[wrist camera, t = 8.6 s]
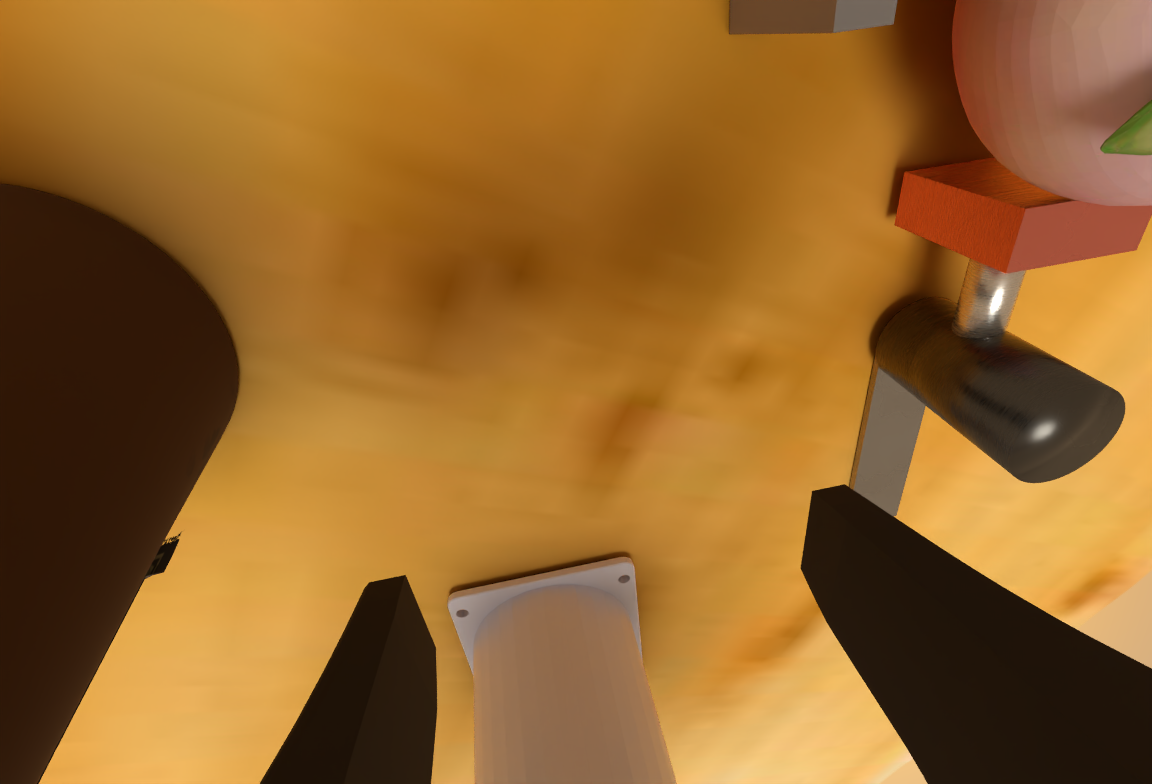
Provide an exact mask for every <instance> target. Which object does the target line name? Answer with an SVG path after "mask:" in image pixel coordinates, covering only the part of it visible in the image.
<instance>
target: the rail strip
mask: <svg viewBox="0 0 1152 784" xmlns="http://www.w3.org/2000/svg"><path fill="white" fill-rule="evenodd" d="M925 406H926V405H924V404H923V403H922V402H921V401H919V400H918V399H917V398H916V397H914V396H913V395H912V394H911V393H909V392H908V391H907V390H906V389H904V388H903V387H902V386H901V385H899V384H898V383H897V382H896V381H894V380H893V379H892V378H891V377H889V376H888V375H887V374H886V373H884V372H883V371H882V370H881V369H880V367H879V365H878V363H877V360H876V354H875V359H874V364H873V369H872V374H871V379H870V384H869V389H868V394H867V399H866V405H865V410H864V415H863V420H862V425H861V430H860V435H859V440H858V445H857V450H856V455H855V460H854V466H853V471H852V476H851V481H850V486H849V487H850V488H851V489H853V490H854V491H856V492H857V493H859V494H860V495H862V496H863V497H865V498H866V499H868V500H869V501H871V502H872V503H874V504H875V505H877V506H878V507H880V508H881V509H883V510H884V511H886V512H887V513H889V514H890V515H892V516H896V515H897V511H898V508H899V504H900V500H901V496H902V493H903V489H904V485H905V481H906V478H907V474H908V470H909V466H910V463H911V459H912V455H913V451H914V448H915V444H916V440H917V436H918V432H919V429H920V425H921V421H922V417H923V414H924V410H925Z"/></svg>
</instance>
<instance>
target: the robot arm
mask: <svg viewBox="0 0 1152 784" xmlns="http://www.w3.org/2000/svg"><path fill="white" fill-rule="evenodd" d="M801 570H802V572H803V574H804V576H805V579H806V581H807V583H808V585H809V587H810V589H811V591H812V594H813V596H814V598H815V600H816V602H817V604H818V606H819V608H820V610H821V612H822V614H823V616H824V618H825V620H826V622H827V623H828V625H829V627H830V628H831V630H832V631H833V633H834V635H835V636H836V638H837V639H838V641H839V643H840V644H841V646H842V647H843V649H844V651H845V652H846V654H847V655H848V657H849V658H850V660H851V662H852V663H853V665H854V666H855V668H856V669H857V671H858V673H859V674H860V676H861V677H862V679H863V680H864V682H865V683H866V685H867V687H868V688H869V690H870V691H871V693H872V694H873V696H874V697H875V699H876V701H877V702H878V704H879V705H880V707H881V708H882V710H883V711H884V713H885V715H886V716H887V718H888V719H889V721H890V722H891V724H892V725H893V727H894V729H895V730H896V732H897V733H898V735H899V736H900V738H901V739H902V741H903V743H904V744H905V746H906V747H907V749H908V751H909V752H910V754H911V756H912V757H913V759H914V761H915V762H916V764H917V766H918V768H919V769H920V771H921V772H922V774H923V775H924V778H925V780H926V782H927V783H928V784H1152V669H1151V668H1149V667H1147V666H1145V665H1144V664H1142V663H1140V662H1138V661H1136V660H1134V659H1132V658H1130V657H1128V656H1126V655H1124V654H1122V653H1120V652H1118V651H1116V650H1115V649H1113V648H1110V647H1109V646H1107V645H1105V644H1103V643H1101V642H1099V641H1097V640H1095V639H1093V638H1091V637H1089V636H1088V635H1086V634H1084V633H1082V632H1080V631H1079V630H1077V629H1075V628H1073V627H1071V626H1069V625H1068V624H1066V623H1064V622H1062V621H1060V620H1059V619H1057V618H1055V617H1053V616H1052V615H1050V614H1048V613H1046V612H1045V611H1043V610H1041V609H1040V608H1038V607H1036V606H1034V605H1033V604H1031V603H1029V602H1028V601H1026V600H1024V599H1022V598H1021V597H1019V596H1017V595H1015V594H1014V593H1012V592H1010V591H1009V590H1007V589H1005V588H1004V587H1002V586H1000V585H999V584H997V583H996V582H994V581H992V580H991V579H989V578H987V577H986V576H984V575H982V574H981V573H979V572H978V571H976V570H974V569H973V568H971V567H970V566H968V565H966V564H965V563H963V562H962V561H960V560H959V559H957V558H956V557H954V556H952V555H951V554H949V553H948V552H946V551H945V550H943V549H942V548H940V547H938V546H937V545H935V544H934V543H932V542H931V541H929V540H928V539H926V538H925V537H923V536H922V535H920V534H919V533H917V532H916V531H914V530H913V529H911V528H910V527H908V526H907V525H905V524H904V523H902V522H901V521H899V520H898V519H896V518H895V517H893V516H892V515H890V514H889V513H887V512H886V511H884V510H883V509H881V508H880V507H878V506H877V505H875V504H874V503H872V502H871V501H869V500H868V499H866V498H865V497H863V496H862V495H860V494H859V493H857V492H856V491H854V490H853V489H851V488H850V487H848V486H846V485H845V484H844V485H840V486H835V487H830V488H825V489H820V490H815V491H812V496H811V503H810V510H809V516H808V523H807V530H806V536H805V543H804V550H803V556H802V563H801ZM622 575H623V576H622ZM448 609H449V612H450V615H451V617H452V620H453V623H454V625H455V628H456V631H457V633H458V636H459V639H460V642H461V644H462V647H463V650H464V652H465V655H466V658H467V660H468V663H469V666H470V668H471V671H472V674H473V676H474V756H475V784H677V783H676V779H675V776H674V772H673V768H672V765H671V761H670V758H669V754H668V751H667V747H666V744H665V740H664V737H663V733H662V730H661V726H660V722H659V719H658V715H657V712H656V708H655V705H654V701H653V698H652V694H651V691H650V687H649V684H648V680H647V676H646V673H645V669H644V666H643V659H642V648H641V636H640V625H639V613H638V602H637V590H636V579H635V568H634V565H633V562H632V560H631V559H630V558H628V557H618V558H614V559H609V560H604V561H599V562H595V563H590V564H585V565H580V566H576V567H571V568H566V569H561V570H556V571H552V572H547V573H542V574H537V575H533V576H528V577H523V578H518V579H514V580H509V581H504V582H499V583H495V584H490V585H485V586H480V587H475V588H471V589H466V590H461V591H457V592H454V593H452V594H451V595H450V596H449V597H448ZM462 609H464V610H462ZM436 717H437V674H436V647H435V645H434V642H433V640H432V637H431V635H430V633H429V630H428V628H427V625H426V623H425V621H424V618H423V616H422V613H421V611H420V609H419V606H418V604H417V601H416V599H415V597H414V594H413V592H412V589H411V587H410V585H409V582H408V580H407V577H406V575H403V576H399V577H394V578H389V579H384V580H379V581H374V582H369V583H368V585H367V586H366V587H365V588H364V590H363V593H362V595H361V597H360V599H359V601H358V603H357V605H356V607H355V609H354V611H353V613H352V616H351V618H350V620H349V622H348V624H347V626H346V628H345V630H344V632H343V634H342V636H341V638H340V640H339V642H338V644H337V646H336V648H335V650H334V652H333V654H332V656H331V658H330V660H329V662H328V664H327V665H326V667H325V669H324V671H323V673H322V675H321V677H320V679H319V681H318V682H317V684H316V686H315V688H314V690H313V692H312V693H311V695H310V697H309V699H308V701H307V703H306V705H305V706H304V708H303V710H302V712H301V714H300V716H299V718H298V719H297V721H296V723H295V725H294V726H293V728H292V730H291V732H290V733H289V735H288V737H287V739H286V740H285V742H284V744H283V745H282V747H281V749H280V750H279V752H278V754H277V755H276V757H275V759H274V760H273V762H272V764H271V765H270V767H269V769H268V771H267V772H266V774H265V776H264V777H263V779H262V781H261V782H260V784H431V776H432V765H433V753H434V741H435V729H436Z"/></svg>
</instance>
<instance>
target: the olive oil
mask: <svg viewBox="0 0 1152 784" xmlns="http://www.w3.org/2000/svg"><path fill="white" fill-rule="evenodd" d="M237 392H238V368H237V361H236V356H235V352H234V349H233V345H232V342H231V340H230V337H229V335H228V332H227V330H226V328H225V326H224V324H223V322H222V320H221V318H220V316H219V315H218V313H217V311H216V310H215V308H214V307H213V305H212V304H211V302H210V301H209V299H208V298H207V297H206V295H205V294H204V293H203V291H202V290H201V289H200V288H199V287H198V285H197V284H196V283H195V282H194V281H193V280H192V279H191V278H190V277H189V276H188V274H187V273H186V272H185V271H184V270H183V269H181V268H180V267H179V266H178V265H177V264H176V263H175V262H174V261H173V260H172V259H171V258H169V257H168V256H167V255H166V254H165V253H163V252H162V251H161V250H160V249H158V248H157V247H156V246H154V245H153V244H152V243H150V242H149V241H147V240H146V239H145V238H143V237H142V236H140V235H139V234H137V233H135V232H134V231H132V230H131V229H129V228H127V227H126V226H124V225H122V224H120V223H119V222H117V221H115V220H113V219H111V218H109V217H107V216H105V215H103V214H101V213H99V212H97V211H95V210H93V209H90V208H88V207H86V206H83V205H81V204H78V203H76V202H73V201H70V200H67V199H65V198H62V197H59V196H55V195H52V194H49V193H45V192H41V191H38V190H33V189H29V188H24V187H19V186H13V185H7V184H0V784H39V782H40V780H41V778H42V776H43V774H44V772H45V770H46V768H47V766H48V763H49V762H50V760H51V758H52V756H53V754H54V752H55V751H56V748H57V747H58V745H59V743H60V741H61V739H62V737H63V735H64V733H65V731H66V729H67V727H68V725H69V724H70V722H71V720H72V718H73V716H74V714H75V712H76V710H77V708H78V706H79V704H80V702H81V700H82V699H83V697H84V695H85V693H86V691H87V689H88V687H89V685H90V683H91V681H92V679H93V677H94V675H95V674H96V672H97V670H98V668H99V666H100V664H101V662H102V660H103V658H104V656H105V654H106V652H107V650H108V649H109V647H110V645H111V643H112V641H113V639H114V637H115V635H116V633H117V631H118V629H119V627H120V626H121V624H122V622H123V620H124V618H125V616H126V614H127V612H128V610H129V608H130V606H131V604H132V602H133V601H134V599H135V597H136V595H137V593H138V591H139V589H140V587H141V585H142V583H143V581H144V579H146V578H148V577H150V576H152V575H155V574H159V573H163V572H164V571H165V569H166V567H167V565H168V563H169V561H170V559H171V557H172V555H173V553H174V551H175V548H176V546H177V544H178V542H179V540H180V539H177V538H176V537H178V536H180V534H181V533H180V534H179V535H178V536H176V537H173V538H174V539H175V540H176V541H175V540H173V538H172V537H171V538H172V539H169V538H168V539H169V541H170V540H171V541H173V542H171V544H170V543H169V542H168V543H167V540H165V538H166V536H167V534H168V532H169V531H170V529H171V527H172V525H173V523H174V522H175V520H176V518H177V516H178V514H179V512H180V511H181V509H182V507H183V505H184V503H185V502H186V500H187V498H188V496H189V494H190V493H191V491H192V489H193V487H194V485H195V484H196V482H197V480H198V478H199V476H200V475H201V473H202V471H203V469H204V467H205V466H206V464H207V462H208V460H209V458H210V457H211V455H212V453H213V451H214V449H215V448H216V446H217V444H218V442H219V440H220V439H221V437H222V435H223V433H224V431H225V429H226V427H227V425H228V423H229V421H230V418H231V416H232V413H233V410H234V407H235V403H236V398H237ZM180 537H181V536H180ZM178 538H179V537H178ZM164 540H165V541H166V542H165V541H164ZM163 542H165V543H164V544H163V545H162V543H163ZM166 543H167V544H166ZM161 545H162V546H161Z"/></svg>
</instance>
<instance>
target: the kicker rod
mask: <svg viewBox="0 0 1152 784" xmlns="http://www.w3.org/2000/svg"><path fill="white" fill-rule="evenodd" d="M1151 215H1152V205H1150V206H1106V205H1099V204H1092V203H1087V202H1083V201H1078V200H1074V199H1070V198H1066V197H1062V196H1058V195H1055V194H1053V193H1050V192H1048V191H1046V190H1043V189H1041V188H1038V187H1036V186H1034V185H1032V184H1030V183H1028V182H1026V181H1025V180H1023V179H1022V178H1020V177H1018V176H1017V175H1015V174H1014V173H1012V172H1011V171H1010V170H1008V169H1007V168H1006V167H1005V166H1003V165H1002V164H1001V163H1000V162H999V161H998V160H997V159H996V158H995V157H993V158H987V159H981V160H975V161H969V162H963V163H957V164H951V165H945V166H938V167H932V168H926V169H920V170H914V171H908V172H905V173H904V178H903V183H902V188H901V194H900V199H899V204H898V209H897V215H896V220H895V226H898V227H900V228H902V229H905V230H907V231H909V232H911V233H914V234H916V235H918V236H921V237H923V238H925V239H927V240H930V241H932V242H934V243H937V244H939V245H941V246H943V247H946V248H948V249H950V250H953V251H955V252H957V253H959V254H962V255H964V256H966V257H969V258H970V260H969V263H968V267H967V271H966V274H965V278H964V282H963V285H962V289H961V293H960V296H959V300H958V304H956V303H954V302H952V301H950V300H949V299H946V298H942V297H930V298H925V299H921V300H918V301H916V302H914V303H912V304H910V305H908V306H907V307H905V308H904V309H902V310H901V311H900V312H898V313H897V314H896V315H895V316H894V317H893V318H892V319H891V320H890V321H889V323H888V324H887V325H886V327H885V328H884V330H883V331H882V333H881V335H880V337H879V340H878V343H877V346H876V360H877V363H878V365H879V367H880V369H881V370H882V371H883V372H884V373H886V374H887V375H888V376H889V377H891V378H892V379H893V380H894V381H896V382H897V383H898V384H899V385H901V386H902V387H903V388H904V389H906V390H907V391H908V392H909V393H911V394H912V395H913V396H914V397H916V398H917V399H918V400H919V401H921V402H922V403H923V404H924V405H926V406H927V407H928V408H929V409H931V410H932V411H933V412H934V413H936V414H937V415H938V416H939V417H941V418H942V419H943V420H944V421H946V422H947V423H948V424H949V425H951V426H952V427H953V428H954V429H956V430H957V431H958V432H959V433H961V434H962V435H963V436H964V437H966V438H967V439H968V440H969V441H971V442H972V443H973V444H974V445H976V446H977V447H978V448H979V449H981V450H982V451H983V452H984V453H986V454H987V455H988V456H989V457H991V458H992V459H993V460H994V461H996V462H997V463H998V464H999V465H1001V466H1002V467H1003V468H1004V469H1006V470H1007V471H1008V472H1009V473H1011V474H1012V475H1013V476H1014V477H1016V478H1017V479H1019V480H1021V481H1023V482H1028V483H1041V482H1047V481H1051V480H1054V479H1057V478H1060V477H1063V476H1065V475H1067V474H1069V473H1071V472H1073V471H1075V470H1077V469H1078V468H1080V467H1082V466H1083V465H1084V464H1086V463H1087V462H1089V461H1090V460H1091V459H1093V458H1094V457H1095V456H1096V455H1097V454H1098V453H1099V452H1101V451H1102V450H1103V449H1104V448H1105V447H1106V445H1107V444H1108V443H1109V442H1110V441H1111V440H1112V438H1113V437H1114V435H1115V434H1116V433H1117V431H1118V429H1119V427H1120V425H1121V423H1122V421H1123V418H1124V414H1125V402H1124V399H1123V397H1122V395H1121V394H1120V393H1119V392H1118V391H1116V390H1114V389H1113V388H1111V387H1109V386H1107V385H1105V384H1104V383H1102V382H1100V381H1098V380H1096V379H1094V378H1092V377H1091V376H1089V375H1087V374H1085V373H1083V372H1081V371H1080V370H1078V369H1076V368H1074V367H1072V366H1070V365H1068V364H1067V363H1065V362H1063V361H1061V360H1059V359H1057V358H1056V357H1054V356H1052V355H1050V354H1048V353H1046V352H1044V351H1043V350H1041V349H1039V348H1037V347H1035V346H1033V345H1032V344H1030V343H1028V342H1026V341H1024V340H1022V339H1021V338H1019V337H1017V336H1015V335H1013V334H1011V333H1009V332H1008V331H1006V330H1007V327H1008V324H1009V321H1010V318H1011V315H1012V312H1013V309H1014V306H1015V303H1016V300H1017V297H1018V293H1019V290H1020V287H1021V284H1022V281H1023V278H1024V275H1025V272H1026V270H1029V269H1035V268H1040V267H1046V266H1051V265H1057V264H1062V263H1068V262H1073V261H1079V260H1085V259H1090V258H1096V257H1101V256H1107V255H1112V254H1118V253H1123V252H1129V251H1134V250H1137V248H1138V245H1139V243H1140V241H1141V238H1142V236H1143V234H1144V232H1145V229H1146V227H1147V225H1148V222H1149V220H1150V218H1151Z"/></svg>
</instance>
